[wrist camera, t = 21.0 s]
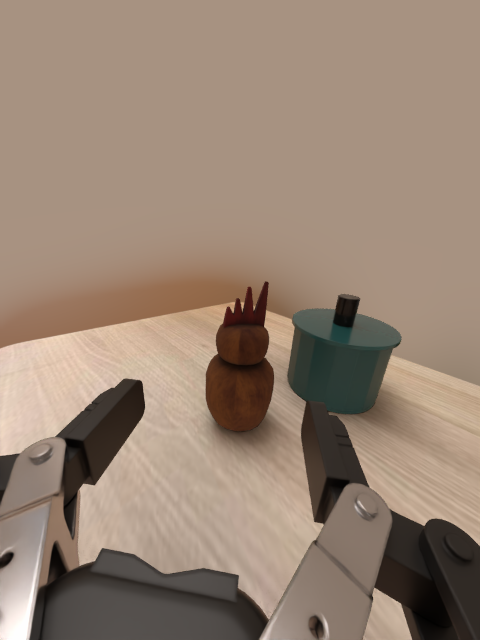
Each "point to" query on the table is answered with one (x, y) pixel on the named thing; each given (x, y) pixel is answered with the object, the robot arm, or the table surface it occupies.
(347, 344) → the pot lid
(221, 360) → the wooden figurine
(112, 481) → the table surface
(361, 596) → the robot arm
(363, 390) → the pot
